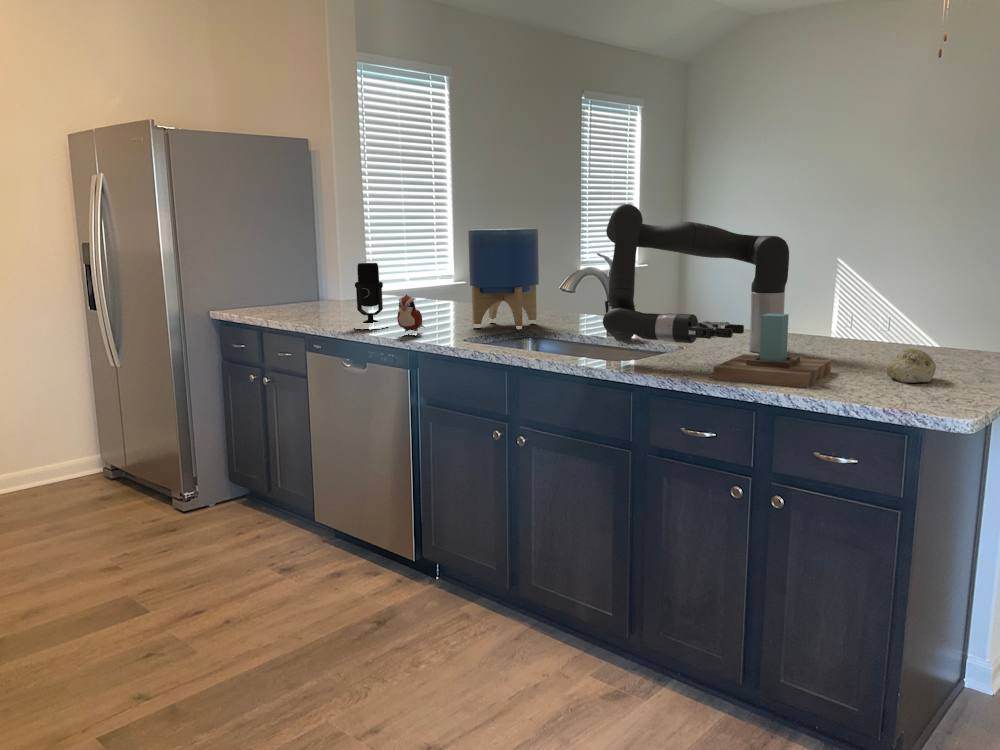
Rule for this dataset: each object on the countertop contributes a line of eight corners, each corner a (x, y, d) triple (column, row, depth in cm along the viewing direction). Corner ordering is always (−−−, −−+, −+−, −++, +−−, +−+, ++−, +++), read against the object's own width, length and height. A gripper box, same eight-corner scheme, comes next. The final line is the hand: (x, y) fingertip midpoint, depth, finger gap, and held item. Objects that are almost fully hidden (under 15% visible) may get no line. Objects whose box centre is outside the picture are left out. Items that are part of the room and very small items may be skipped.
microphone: (347, 329, 310) (343, 264, 305) (363, 325, 322) (359, 262, 318) (379, 330, 306) (376, 263, 301) (394, 326, 318) (391, 262, 314)
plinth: (742, 365, 213) (743, 349, 213) (830, 372, 201) (831, 355, 200) (713, 379, 196) (713, 362, 195) (807, 387, 183) (808, 369, 183)
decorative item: (886, 357, 197) (929, 342, 192) (899, 391, 196) (943, 377, 190) (876, 358, 188) (921, 342, 182) (890, 393, 186) (936, 379, 181)
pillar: (766, 361, 201) (767, 313, 199) (786, 362, 198) (788, 314, 196) (759, 364, 197) (761, 315, 195) (780, 365, 194) (782, 316, 192)
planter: (460, 325, 315) (457, 230, 308) (520, 321, 326) (518, 228, 319) (488, 332, 292) (485, 229, 285) (551, 327, 302) (550, 228, 296)
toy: (392, 338, 282) (390, 295, 279) (408, 332, 298) (406, 291, 295) (415, 338, 280) (413, 295, 277) (430, 332, 296) (429, 291, 293)
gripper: (665, 316, 204) (728, 319, 195) (687, 311, 216) (747, 313, 207) (665, 345, 206) (727, 350, 197) (686, 338, 217) (746, 342, 208)
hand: (737, 331), depth 202 cm, fingers open, 8 cm apart
